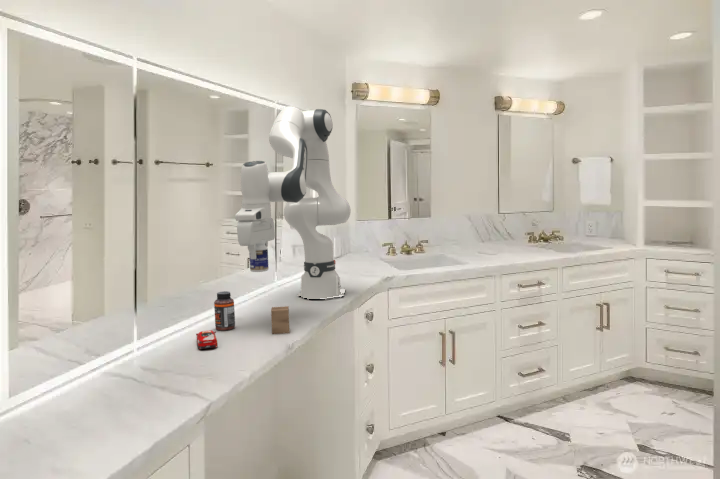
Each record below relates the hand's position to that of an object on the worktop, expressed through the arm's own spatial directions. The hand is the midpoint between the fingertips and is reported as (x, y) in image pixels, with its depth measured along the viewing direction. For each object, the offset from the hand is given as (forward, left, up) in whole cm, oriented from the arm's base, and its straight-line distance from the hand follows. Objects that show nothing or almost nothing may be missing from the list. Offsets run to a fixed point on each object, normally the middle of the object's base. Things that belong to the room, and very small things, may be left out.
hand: (258, 257), depth 168 cm
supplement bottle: (+7, -9, -21) cm, 24 cm away
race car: (+24, -6, -22) cm, 33 cm away
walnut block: (+8, +10, -21) cm, 25 cm away
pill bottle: (0, 0, -5) cm, 4 cm away
